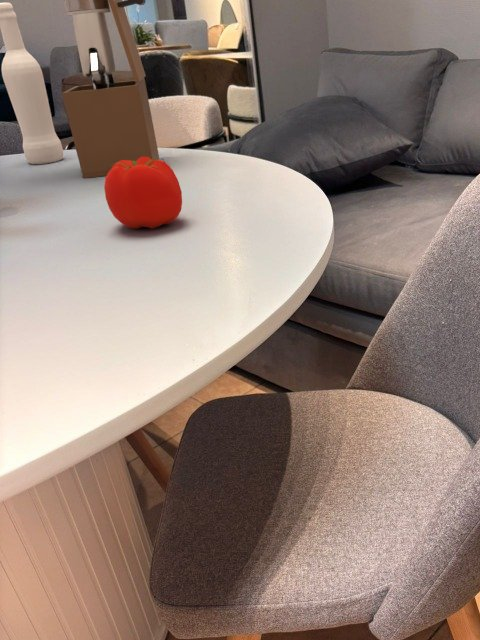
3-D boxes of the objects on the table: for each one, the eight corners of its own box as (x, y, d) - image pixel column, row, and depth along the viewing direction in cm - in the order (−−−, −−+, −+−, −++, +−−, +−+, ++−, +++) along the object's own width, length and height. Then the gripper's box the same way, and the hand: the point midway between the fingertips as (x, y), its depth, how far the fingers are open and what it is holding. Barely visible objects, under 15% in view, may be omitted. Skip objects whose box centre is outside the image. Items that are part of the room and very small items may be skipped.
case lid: (104, -11, 107) (135, -19, 107) (114, -8, 119) (142, -15, 118) (135, 82, 114) (164, 75, 114) (142, 77, 126) (168, 70, 126)
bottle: (64, 155, 146) (24, 1, 131) (65, 161, 139) (23, 0, 124) (28, 160, 144) (-17, 5, 129) (26, 166, 138) (-21, 3, 122)
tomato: (168, 237, 83) (154, 168, 79) (96, 236, 86) (79, 169, 82) (201, 214, 92) (191, 150, 87) (135, 214, 95) (121, 152, 90)
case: (83, 178, 122) (61, 93, 114) (94, 164, 133) (75, 86, 125) (154, 170, 122) (138, 85, 115) (159, 157, 134) (144, 79, 126)
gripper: (74, 7, 120) (97, 110, 130) (56, 5, 106) (83, 122, 115) (114, 3, 121) (135, 106, 130) (101, 1, 106) (125, 117, 115)
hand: (110, 112), depth 123 cm, fingers closed on bottle small, 6 cm apart
